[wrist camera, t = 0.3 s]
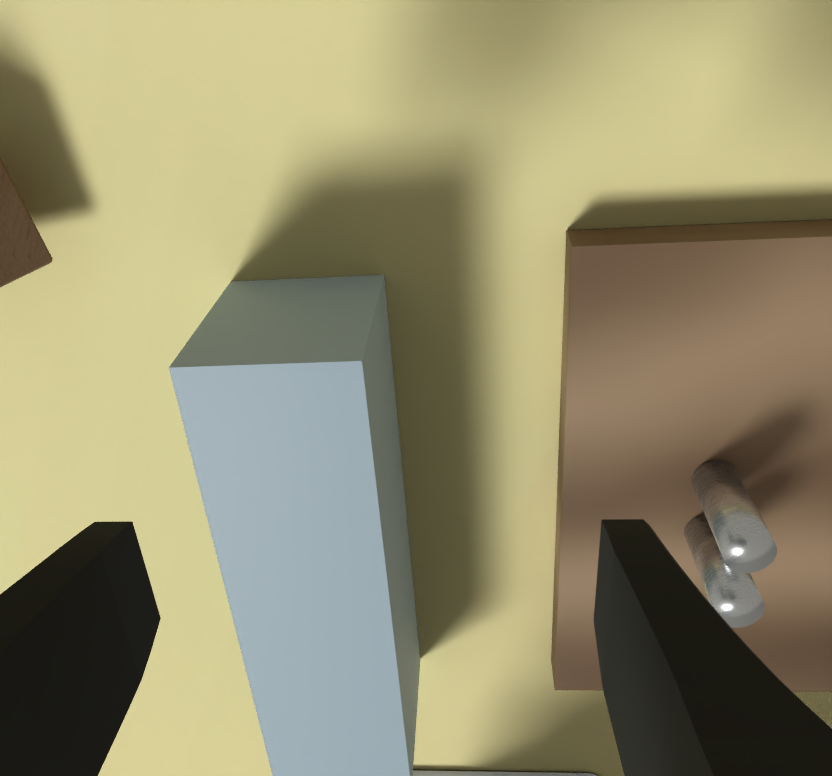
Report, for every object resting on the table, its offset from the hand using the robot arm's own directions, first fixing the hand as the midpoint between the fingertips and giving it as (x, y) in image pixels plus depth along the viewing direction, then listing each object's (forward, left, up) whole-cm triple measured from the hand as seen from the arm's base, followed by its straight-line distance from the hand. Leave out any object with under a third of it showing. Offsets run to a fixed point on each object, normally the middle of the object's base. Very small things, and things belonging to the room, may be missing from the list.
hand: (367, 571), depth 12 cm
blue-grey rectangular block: (-6, +3, -10) cm, 12 cm away
